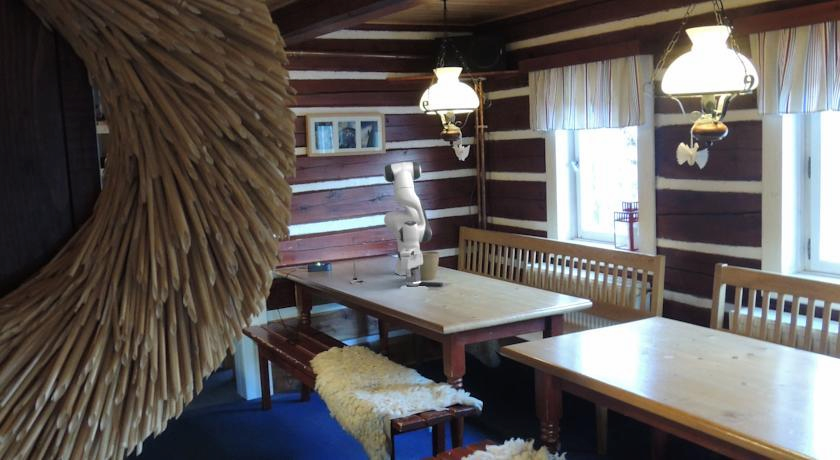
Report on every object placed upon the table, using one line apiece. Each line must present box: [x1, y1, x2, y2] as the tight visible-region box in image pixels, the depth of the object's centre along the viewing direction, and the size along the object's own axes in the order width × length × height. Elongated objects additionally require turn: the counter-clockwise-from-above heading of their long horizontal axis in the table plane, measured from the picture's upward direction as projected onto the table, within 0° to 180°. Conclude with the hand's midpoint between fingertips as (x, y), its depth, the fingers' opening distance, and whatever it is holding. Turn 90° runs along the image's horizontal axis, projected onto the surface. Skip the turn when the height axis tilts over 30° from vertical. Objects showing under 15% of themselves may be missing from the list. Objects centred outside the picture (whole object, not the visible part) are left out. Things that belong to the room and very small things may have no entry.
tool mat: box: [427, 282, 453, 291], centre depth 437 cm, size 20×26×1 cm
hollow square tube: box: [405, 268, 421, 283], centre depth 439 cm, size 6×6×7 cm
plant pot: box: [420, 250, 440, 281], centre depth 457 cm, size 15×15×16 cm
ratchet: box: [405, 280, 444, 287], centre depth 436 cm, size 22×9×6 cm, turn 63°
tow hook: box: [352, 260, 358, 280], centre depth 460 cm, size 8×13×9 cm
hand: (413, 275), depth 439 cm, fingers open, 8 cm apart
